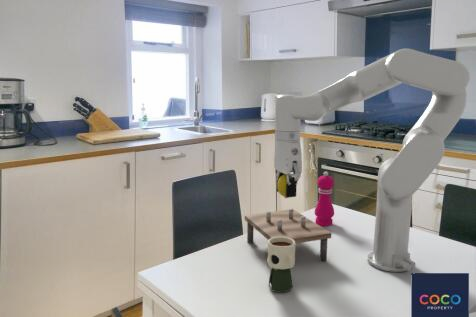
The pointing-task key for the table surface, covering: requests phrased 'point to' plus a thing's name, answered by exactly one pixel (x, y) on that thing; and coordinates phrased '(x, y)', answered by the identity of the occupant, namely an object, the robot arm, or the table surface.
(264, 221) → the peg shelf
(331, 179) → the pepper mill
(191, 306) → the table surface
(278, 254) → the character mug
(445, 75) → the robot arm
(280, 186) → the lemon
